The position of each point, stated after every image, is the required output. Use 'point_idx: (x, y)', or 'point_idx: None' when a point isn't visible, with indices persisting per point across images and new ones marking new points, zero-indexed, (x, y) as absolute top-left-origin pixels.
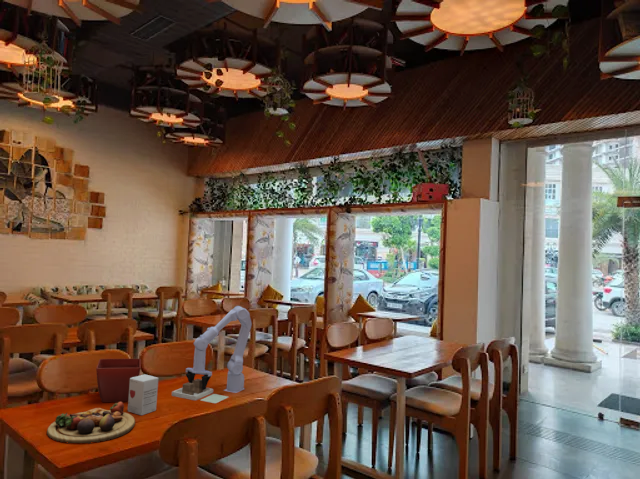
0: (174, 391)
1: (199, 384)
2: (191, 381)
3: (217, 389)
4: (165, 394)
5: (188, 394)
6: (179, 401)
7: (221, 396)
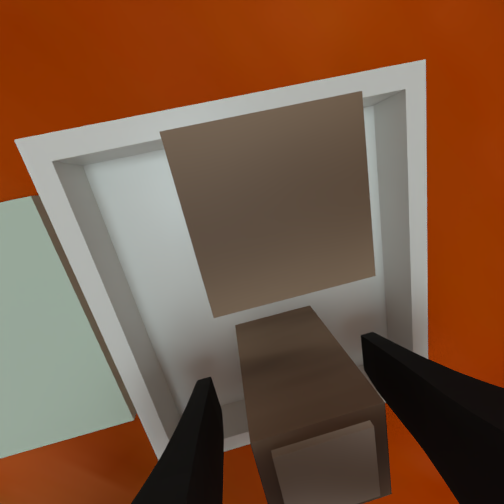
0: (406, 94)
1: (246, 408)
2: (412, 395)
3: (239, 495)
4: (476, 103)
5: None
6: (194, 19)
7: (12, 428)
